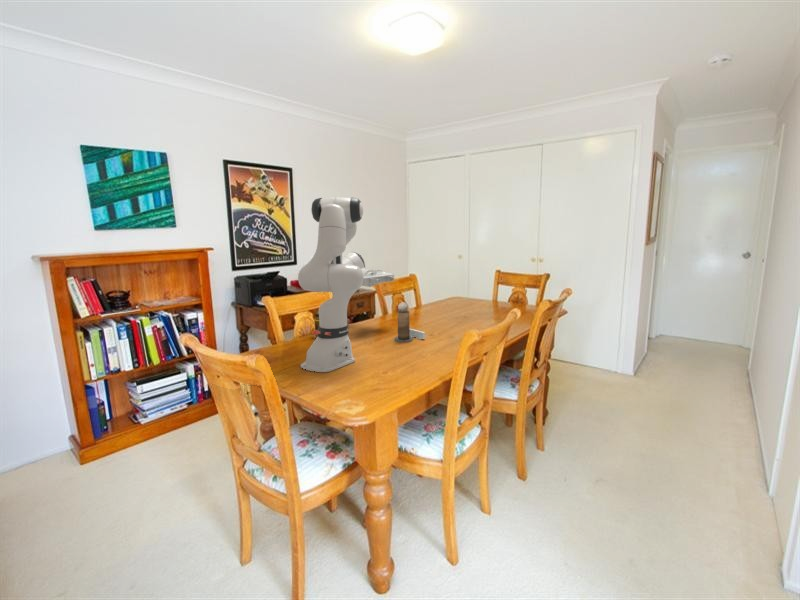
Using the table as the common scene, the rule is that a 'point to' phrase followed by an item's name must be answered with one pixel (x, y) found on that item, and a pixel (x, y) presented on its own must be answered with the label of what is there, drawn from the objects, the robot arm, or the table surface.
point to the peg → (403, 321)
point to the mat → (403, 340)
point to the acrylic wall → (417, 334)
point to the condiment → (316, 322)
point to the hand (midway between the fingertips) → (386, 280)
